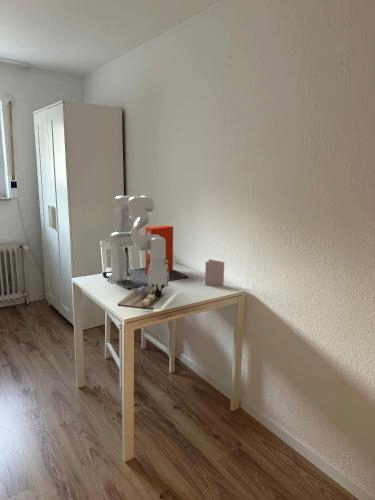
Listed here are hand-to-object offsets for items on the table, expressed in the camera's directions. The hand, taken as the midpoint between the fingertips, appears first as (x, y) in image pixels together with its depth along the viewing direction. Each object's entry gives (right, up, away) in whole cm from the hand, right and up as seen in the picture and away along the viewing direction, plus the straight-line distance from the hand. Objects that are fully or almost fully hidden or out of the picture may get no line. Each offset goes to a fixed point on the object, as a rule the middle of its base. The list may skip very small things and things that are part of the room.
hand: (158, 297), depth 180 cm
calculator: (-34, +7, +61) cm, 70 cm away
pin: (-3, -2, +15) cm, 16 cm away
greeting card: (+31, +2, +42) cm, 52 cm away
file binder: (-5, +8, +68) cm, 69 cm away
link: (-5, -3, +10) cm, 11 cm away
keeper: (-11, -1, +17) cm, 21 cm away
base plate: (-10, -4, +13) cm, 17 cm away
